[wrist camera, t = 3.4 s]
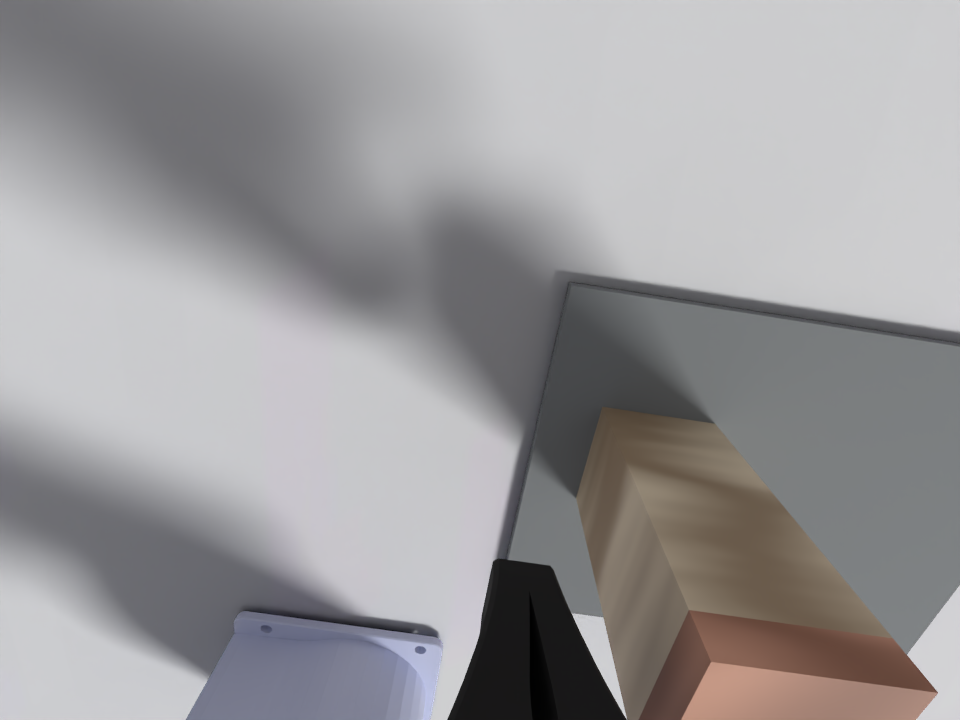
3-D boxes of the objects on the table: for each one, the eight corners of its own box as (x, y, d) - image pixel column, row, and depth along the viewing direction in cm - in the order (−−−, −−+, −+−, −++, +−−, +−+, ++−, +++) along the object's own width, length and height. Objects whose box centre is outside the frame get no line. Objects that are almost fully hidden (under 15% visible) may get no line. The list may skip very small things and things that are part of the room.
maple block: (576, 498, 18) (644, 791, 10) (602, 406, 16) (711, 662, 8) (678, 513, 18) (834, 816, 10) (715, 423, 16) (937, 692, 8)
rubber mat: (498, 592, 21) (498, 602, 20) (569, 282, 15) (571, 285, 15) (894, 647, 21) (903, 658, 21) (1102, 365, 16) (1121, 372, 15)
